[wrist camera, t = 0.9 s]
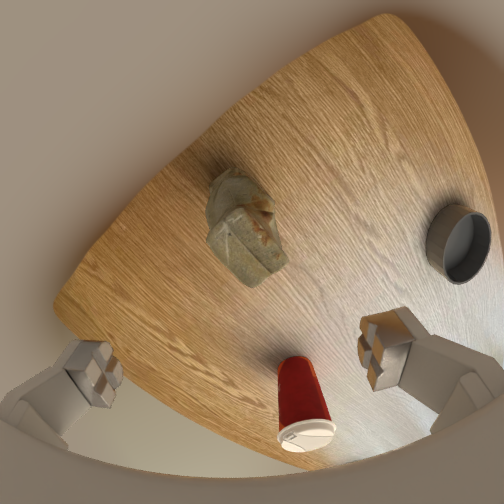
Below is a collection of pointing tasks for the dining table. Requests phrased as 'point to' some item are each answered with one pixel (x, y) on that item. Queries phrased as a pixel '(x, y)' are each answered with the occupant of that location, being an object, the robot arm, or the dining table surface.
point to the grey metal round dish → (458, 243)
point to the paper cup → (302, 407)
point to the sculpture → (244, 228)
